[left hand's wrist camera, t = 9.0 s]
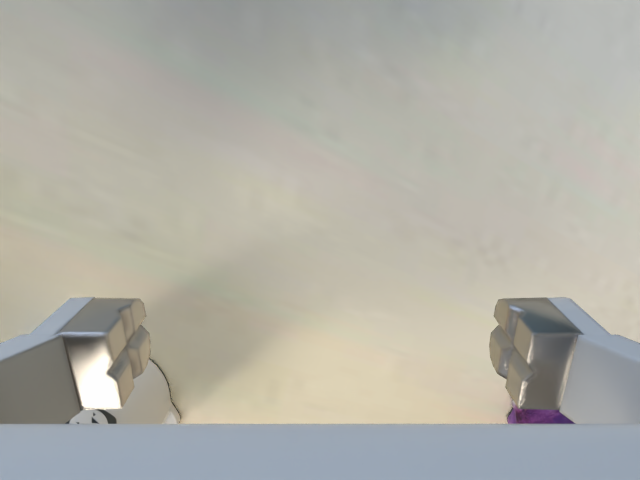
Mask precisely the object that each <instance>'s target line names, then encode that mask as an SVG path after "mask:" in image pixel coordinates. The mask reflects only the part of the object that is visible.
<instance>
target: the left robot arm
mask: <svg viewBox="0 0 640 480" xmlns="http://www.w3.org/2000/svg"><path fill="white" fill-rule="evenodd" d="M145 317H146V312H145V307H144V303H143V302H142V301H141V299H138V298H95V297H85V298H70V299H69V300H68V301H66V302H65V303H64V304H63V305H62V306H61V307H60V308H59V309H58V310H56V311H55V312H54V313H53V314H52V315H51V316H50V317H49V318H47V319H46V320H45V321H44V322H43V323H42V324H41V325H40V326H38V327H37V328H36V329H35V330H34V331H33V332H32V333H31V334H29V335H20V336H18V337H15V338H13V339H10V340H7V341H5V342H2V343H0V480H640V343H638V342H635V341H632V340H630V339H627V338H625V337H622V336H620V335H611V334H609V333H608V332H607V331H606V330H605V329H604V328H603V327H602V326H601V325H599V324H598V323H597V322H596V321H595V320H594V319H593V318H592V317H590V316H589V315H588V314H587V313H586V312H585V311H584V310H583V309H582V308H580V307H579V306H578V305H577V304H576V303H575V302H574V301H573V300H571V299H570V298H566V297H557V298H509V299H499V300H498V302H497V304H496V306H495V312H494V317H495V319H496V320H497V322H498V324H499V325H498V326H497V327H496V328H495V329H494V330H493V331H492V332H491V336H490V344H489V348H490V358H491V361H492V364H493V367H494V368H495V370H496V372H497V374H499V375H500V376H502V377H504V378H505V379H507V381H506V389H507V391H508V392H509V394H510V396H511V397H512V399H513V401H514V402H515V404H516V406H517V407H518V409H541V410H559V412H560V413H562V414H563V415H564V416H566V417H567V418H568V419H570V420H571V421H572V422H574V423H575V424H179V422H180V415H179V413H178V411H177V410H176V408H175V407H174V406H173V404H172V402H171V399H170V392H169V387H168V384H167V381H166V379H165V377H164V375H163V374H162V372H161V371H160V370H159V368H158V367H157V366H156V365H155V364H154V363H153V362H152V361H151V360H149V356H150V336H149V332H148V331H147V330H146V329H145V328H144V327H143V326H142V325H141V324H142V322H143V320H144V319H145Z"/></svg>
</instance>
